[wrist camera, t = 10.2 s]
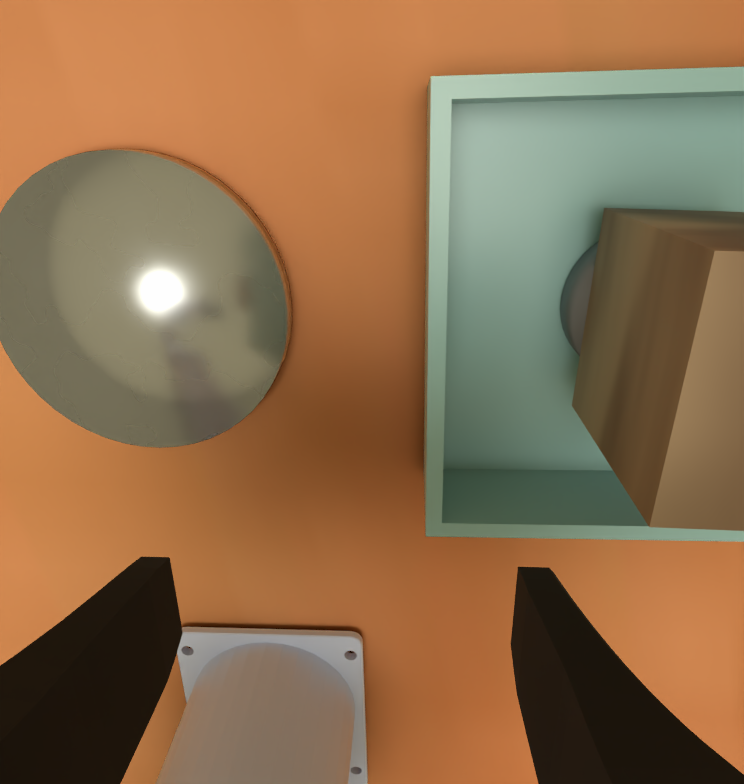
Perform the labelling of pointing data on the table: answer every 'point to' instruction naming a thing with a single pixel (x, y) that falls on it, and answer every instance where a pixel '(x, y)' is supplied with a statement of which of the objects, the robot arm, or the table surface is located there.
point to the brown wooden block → (664, 360)
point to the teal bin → (546, 278)
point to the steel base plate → (141, 297)
